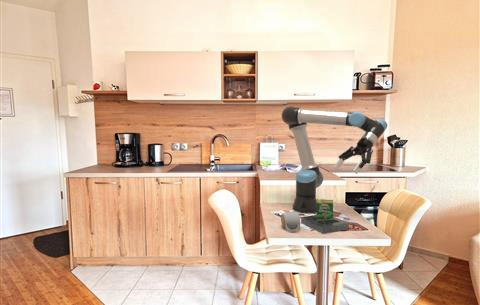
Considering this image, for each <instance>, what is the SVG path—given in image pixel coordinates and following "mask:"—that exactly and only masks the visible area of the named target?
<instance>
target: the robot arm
mask: <svg viewBox="0 0 480 305" xmlns="http://www.w3.org/2000/svg"><path fill="white" fill-rule="evenodd" d="M281 119H282V122H283V123H285V124H286V125H288V126H287V127H288V129H289V131H291V132H292V134H293V138H294V141H295V146H296V150H297V152H298V153H297V154H298V157H299V162H300V165H301V168H300V170H298V171H297V172H296V175H295V198H294V202H293V204H292V210H293V212H298V213H301V214H302V213H303V214H317V188H319V187H320V186H321V185H322V184H323V181H324V175H323V173H322V171H321V170H320V167H319V165H318V164H316V162H315V158H314V155H313V150H312V147H311V143H310V140H309V135H308V132H307V127H308V124H318V125H319V124H320V125H321V124H322V125H332V126H341V127H342V126H343V127H344V126H345V127H355V128H358V129H359V130H362V131H363V132H365V133H364V134H363V135H362V136H361V138H359V140H358V141H357V143H356V146H355V147H353V145H351V146H350V147H349V148H348V149H346V150H345V151H343V152H342V153H341V154H340V155H338V161H337V162H336V164H334V168H335V170H336V171H339V169H341V167H342V165H343V164H344V163H345V161H346V160H348V159H350V158H352V157H355V156H360V157H361V160H359V162H358V163H357V165H356V166H355V168H353V172H354V173H355V174H358V173H359V172H360V170H361V169H363V168H364V166H365V165H366V164H368V165H370V164H371V160H372V155H373V152H374V150H373V147H374V145H375V144H376V143H377V142H378V140H379V139H380V138H381V136H382V135H383V134H384V133H385V131H386V130H387V129H388V123H387V121H386V120H384V119H381V118H376V119H372V118H370V117H368V116H366V114H363V113H362V112H360V111H357V110H355V111H353V112H351V111H336V110H335V111H332V110H315V109H304V108H303V107H299V106H298V107H297V106H294V105H293V106H292V105H289V106H286V107H285V108H284V109H283V110H282V112H281Z"/></svg>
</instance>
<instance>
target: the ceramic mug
mask: <svg viewBox="0 0 480 305" xmlns="http://www.w3.org/2000/svg"><path fill="white" fill-rule="evenodd" d="M299 213H300V212H297V211H291V212H283V213H281V215H280V221H281V227H282V228H284V229H286V231H288V232H290V233H297V232H298V231H299V229H300V227H301V216H300V214H299Z"/></svg>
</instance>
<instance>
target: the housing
mask: <svg viewBox="0 0 480 305" xmlns="http://www.w3.org/2000/svg"><path fill="white" fill-rule="evenodd" d="M300 224H302V225H304V226H307V227H309V228H310V229H312V230H314V231H317V232H318V233H319V234H322V235H326V234H330V233H334V232H336V233H337V232H340V231H341V232H342V231H345V230H349V229H350V222H348V221H346V220H343V219H341V218H338V217H336V216H333V223H330V224H321V223H319V222H317V214H314V215H313V214H312V215H306V216H302V217H301V216H300Z"/></svg>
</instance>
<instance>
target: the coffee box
mask: <svg viewBox="0 0 480 305" xmlns="http://www.w3.org/2000/svg"><path fill="white" fill-rule="evenodd" d="M316 200H317V212H316V215H317V222H319V223H321V224H330V223H333V217H334V199H323V198H322V199H321V198H316Z"/></svg>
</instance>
